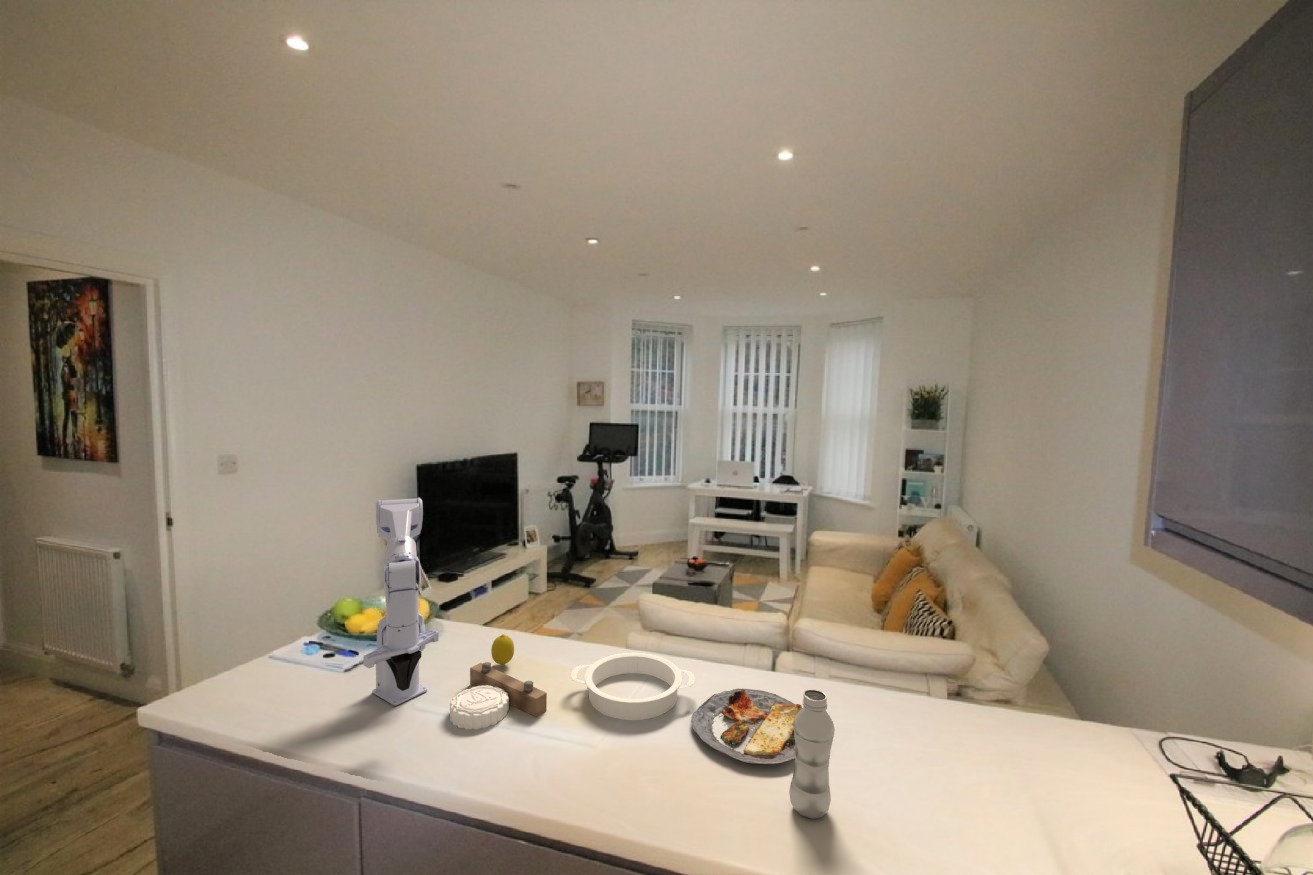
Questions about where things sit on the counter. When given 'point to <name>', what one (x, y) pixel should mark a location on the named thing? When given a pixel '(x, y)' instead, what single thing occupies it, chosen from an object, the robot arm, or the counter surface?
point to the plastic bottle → (812, 756)
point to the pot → (633, 664)
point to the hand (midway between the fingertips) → (403, 688)
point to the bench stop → (510, 688)
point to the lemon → (502, 649)
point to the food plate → (750, 724)
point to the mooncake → (479, 707)
